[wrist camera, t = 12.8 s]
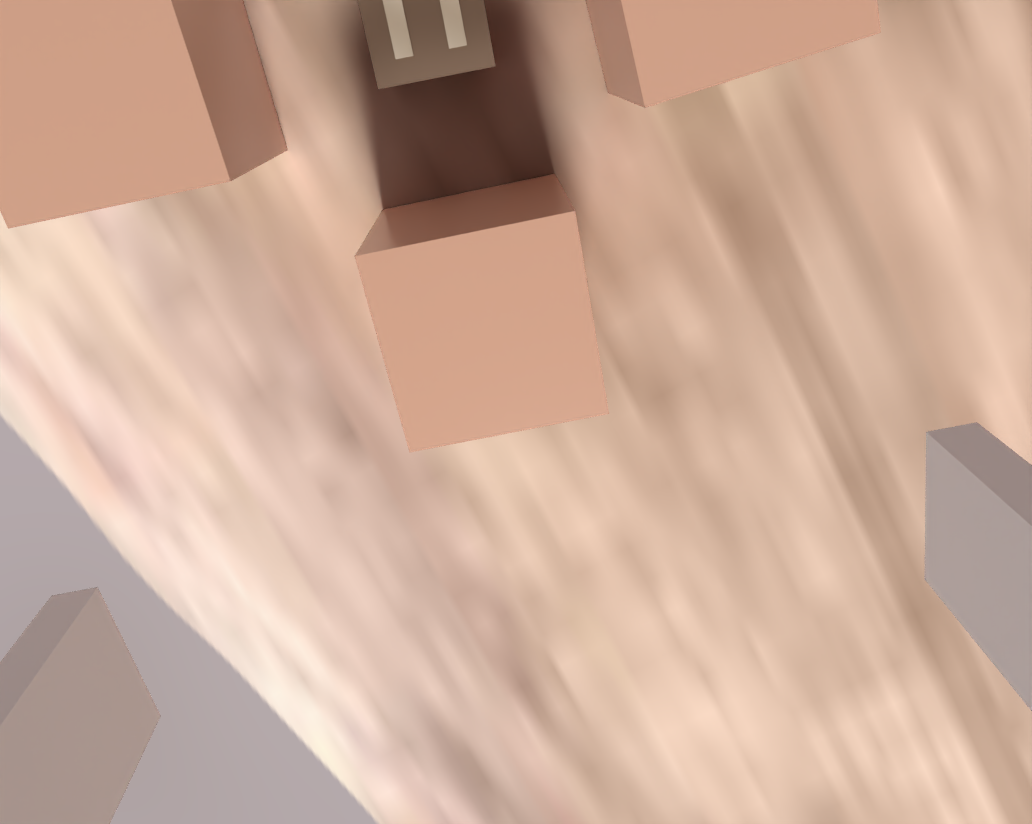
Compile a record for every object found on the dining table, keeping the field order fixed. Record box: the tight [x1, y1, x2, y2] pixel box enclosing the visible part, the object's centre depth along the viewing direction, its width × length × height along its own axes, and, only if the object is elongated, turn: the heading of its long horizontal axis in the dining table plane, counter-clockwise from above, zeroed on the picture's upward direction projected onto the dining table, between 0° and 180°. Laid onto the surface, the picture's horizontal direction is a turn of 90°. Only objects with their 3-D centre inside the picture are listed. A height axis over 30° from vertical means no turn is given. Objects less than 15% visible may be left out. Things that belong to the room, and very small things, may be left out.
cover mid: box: [355, 174, 609, 452], centre depth 31 cm, size 7×7×8 cm
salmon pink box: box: [0, 0, 287, 228], centre depth 28 cm, size 7×7×8 cm
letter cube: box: [358, 0, 495, 89], centre depth 29 cm, size 4×4×4 cm
